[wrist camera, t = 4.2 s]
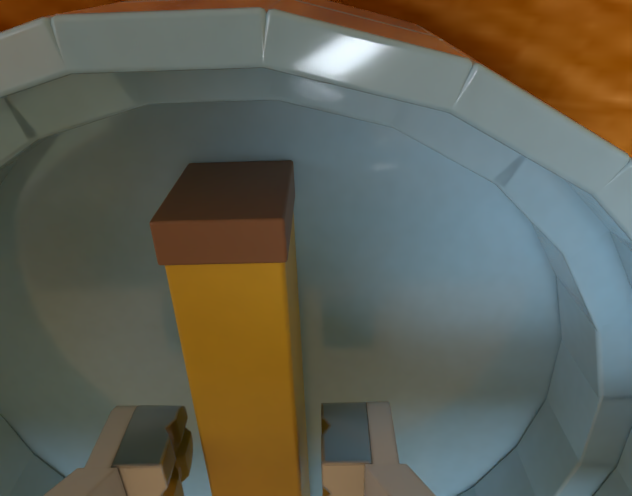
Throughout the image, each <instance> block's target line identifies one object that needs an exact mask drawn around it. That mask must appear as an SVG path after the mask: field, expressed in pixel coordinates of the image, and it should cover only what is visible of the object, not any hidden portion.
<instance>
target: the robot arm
mask: <svg viewBox="0 0 632 496" xmlns="http://www.w3.org/2000/svg"><path fill="white" fill-rule="evenodd" d="M187 420H188V415H187V411H186V408H185V407H184V406H161V405H139V406H116V407H115V408H114V409H113V410H112V411H111V412H110V414H109V416H108V419H107V421H106V423H105V425H104V427H103V429H102V431H101V433H100V435H99V438H98V440H97V442H96V444H95V446H94V448H93V450H92V452H91V454H90V456H89V459H88V461H87V463H86V465H85V467H84V468H77V469H76V470H74V471H73V472H72V473H71V474H69V475H68V476H67V477H66V478H64V479H63V480H62V481H61V482H59V483H58V484H57V485H56V486H54V487H53V488H52V489H51V490H49V491H48V492H47V493H46V494H44V495H43V496H184V491H183V487H182V482H183V481H184V480H185V479H186V478H187V477H188V476H189V474H190V470H191V466H192V458H193V438H192V433H191V431H190V430H188V429H187V428H186V423H187ZM321 431H322V435H321V471H322V491H323V496H436V495H435V494H434V493H433V492H432V491H431V490H430V489H429V488H428V487H427V485H426V484H425V483H424V482H423V481H422V480H421V479H420V478H419V477H418V476H417V475H416V473H415V472H414V471H413V470H412V469H411V468H410V467H409V466H408V465H407V464H400V463H399V456H398V450H397V444H396V437H395V431H394V425H393V418H392V412H391V406H390V403H389V402H388V401H379V402H366V403H365V402H338V403H321Z"/></svg>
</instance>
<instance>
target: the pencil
mask: <svg viewBox="0 0 632 496" xmlns="http://www.w3.org/2000/svg"><path fill="white" fill-rule="evenodd" d="M294 201H295V183H294V166H293V161H291V160H283V161H247V162H212V163H189V164H188V165H187V167H186V168H185V170H184V171H183V173H182V174H181V176H180V177H179V179H178V180H177V182H176V183H175V185H174V186H173V188H172V189H171V191H170V192H169V194H168V195H167V197H166V198H165V200H164V201H163V203H162V204H161V206H160V207H159V209H158V210H157V212H156V213H155V215H154V216H153V218H152V219H151V221H150V223H149V224H150V229H151V234H152V238H153V243H154V248H155V252H156V257H157V262H158V264H159V265H165V269H166V274H167V279H168V284H169V289H170V294H171V298H172V303H173V308H174V313H175V318H176V323H177V328H178V333H179V337H180V342H181V347H182V352H183V357H184V362H185V367H186V371H187V376H188V381H189V386H190V391H191V396H192V401H193V406H194V410H195V415H196V420H197V425H198V430H199V435H200V440H201V445H202V449H203V454H204V459H205V464H206V469H207V474H208V479H209V483H210V488H211V493H212V496H310V481H309V464H308V447H307V430H306V413H305V397H304V380H303V363H302V346H301V329H300V312H299V295H298V279H297V262H296V245H295V228H294V211H293V210H294Z"/></svg>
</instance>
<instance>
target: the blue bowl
mask: <svg viewBox="0 0 632 496" xmlns="http://www.w3.org/2000/svg"><path fill="white" fill-rule="evenodd" d="M283 160H291V161H293V166H294V183H295V201H294V210H293V211H294V228H295V245H296V262H297V279H298V295H299V312H300V329H301V346H302V363H303V380H304V397H305V413H306V430H307V447H308V464H309V481H310V496H323V491H322V471H321V435H322V431H321V403H338V402H365V403H366V402H379V401H388V402H389V403H390V406H391V412H392V418H393V425H394V431H395V437H396V444H397V450H398V456H399V463H400V464H407V465H408V466H409V467H410V468H411V469H412V470H413V471H414V472H415V473H416V475H417V476H418V477H419V478H420V479H421V480H422V481H423V482H424V483H425V484H426V485H427V487H428V488H429V489H430V490H431V491H432V492H433V493H434V494H435V495H436V496H632V157H630V156H629V155H628V153H626V152H625V151H623V150H621V149H620V148H618V147H616V146H615V145H613V144H612V143H610V142H608V141H607V140H605V139H604V138H602V137H600V136H599V135H597V134H595V133H594V132H592V131H591V130H589V129H587V128H586V127H584V126H583V125H581V124H579V123H578V122H576V121H574V120H573V119H571V118H570V117H568V116H566V115H565V114H563V113H562V112H560V111H558V110H557V109H555V108H554V107H552V106H550V105H549V104H547V103H546V102H544V101H542V100H541V99H539V98H537V97H536V96H534V95H533V94H531V93H529V92H528V91H526V90H525V89H523V88H521V87H520V86H518V85H516V84H515V83H513V82H512V81H510V80H508V79H507V78H505V77H503V76H502V75H500V74H499V73H497V72H495V71H494V70H492V69H490V68H489V67H487V66H485V65H484V64H482V63H481V62H479V61H477V60H476V59H474V58H472V57H471V56H469V55H468V54H466V53H464V52H463V51H461V50H459V49H458V48H456V47H454V46H453V45H451V44H450V43H448V42H446V41H445V40H443V39H441V38H440V37H438V36H437V35H435V34H433V33H432V32H430V31H428V30H427V29H425V28H423V27H422V26H420V25H415V24H414V23H412V22H409V21H405V20H402V19H398V18H394V17H390V16H386V15H382V14H379V13H375V12H371V11H367V10H363V9H359V8H355V7H352V6H348V5H344V4H340V3H336V2H332V1H329V0H127V1H122V2H117V3H112V4H107V5H102V6H96V7H91V8H86V9H80V10H75V11H70V12H65V13H59V14H54V15H49V16H43V17H40V18H37V19H35V20H32V21H29V22H26V23H24V24H21V25H18V26H15V27H13V28H10V29H7V30H4V31H1V32H0V496H43V495H44V494H46V493H47V492H48V491H49V490H51V489H52V488H53V487H54V486H56V485H57V484H58V483H59V482H61V481H62V480H63V479H64V478H66V477H67V476H68V475H69V474H71V473H72V472H73V471H74V470H76V469H77V468H84V467H85V465H86V463H87V461H88V459H89V456H90V454H91V452H92V450H93V448H94V446H95V444H96V442H97V440H98V438H99V435H100V433H101V431H102V429H103V427H104V425H105V423H106V421H107V419H108V416H109V414H110V412H111V411H112V410H113V409H114V408H115V407H116V406H139V405H161V406H184V407H185V408H186V411H187V415H188V420H187V423H186V428H187V429H188V430H190V431H191V433H192V438H193V458H192V466H191V470H190V474H189V476H188V477H187V478H186V479H185V480H184V481H183V482H182V487H183V491H184V496H212V493H211V488H210V483H209V479H208V474H207V469H206V464H205V459H204V454H203V449H202V445H201V440H200V435H199V430H198V425H197V420H196V415H195V410H194V406H193V401H192V396H191V391H190V386H189V381H188V376H187V371H186V367H185V362H184V357H183V352H182V347H181V342H180V337H179V333H178V328H177V323H176V318H175V313H174V308H173V303H172V298H171V294H170V289H169V284H168V279H167V274H166V269H165V265H159V264H158V262H157V257H156V252H155V248H154V243H153V238H152V234H151V229H150V224H149V223H150V221H151V219H152V218H153V216H154V215H155V213H156V212H157V210H158V209H159V207H160V206H161V204H162V203H163V201H164V200H165V198H166V197H167V195H168V194H169V192H170V191H171V189H172V188H173V186H174V185H175V183H176V182H177V180H178V179H179V177H180V176H181V174H182V173H183V171H184V170H185V168H186V167H187V165H188V164H189V163H212V162H247V161H283Z"/></svg>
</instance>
